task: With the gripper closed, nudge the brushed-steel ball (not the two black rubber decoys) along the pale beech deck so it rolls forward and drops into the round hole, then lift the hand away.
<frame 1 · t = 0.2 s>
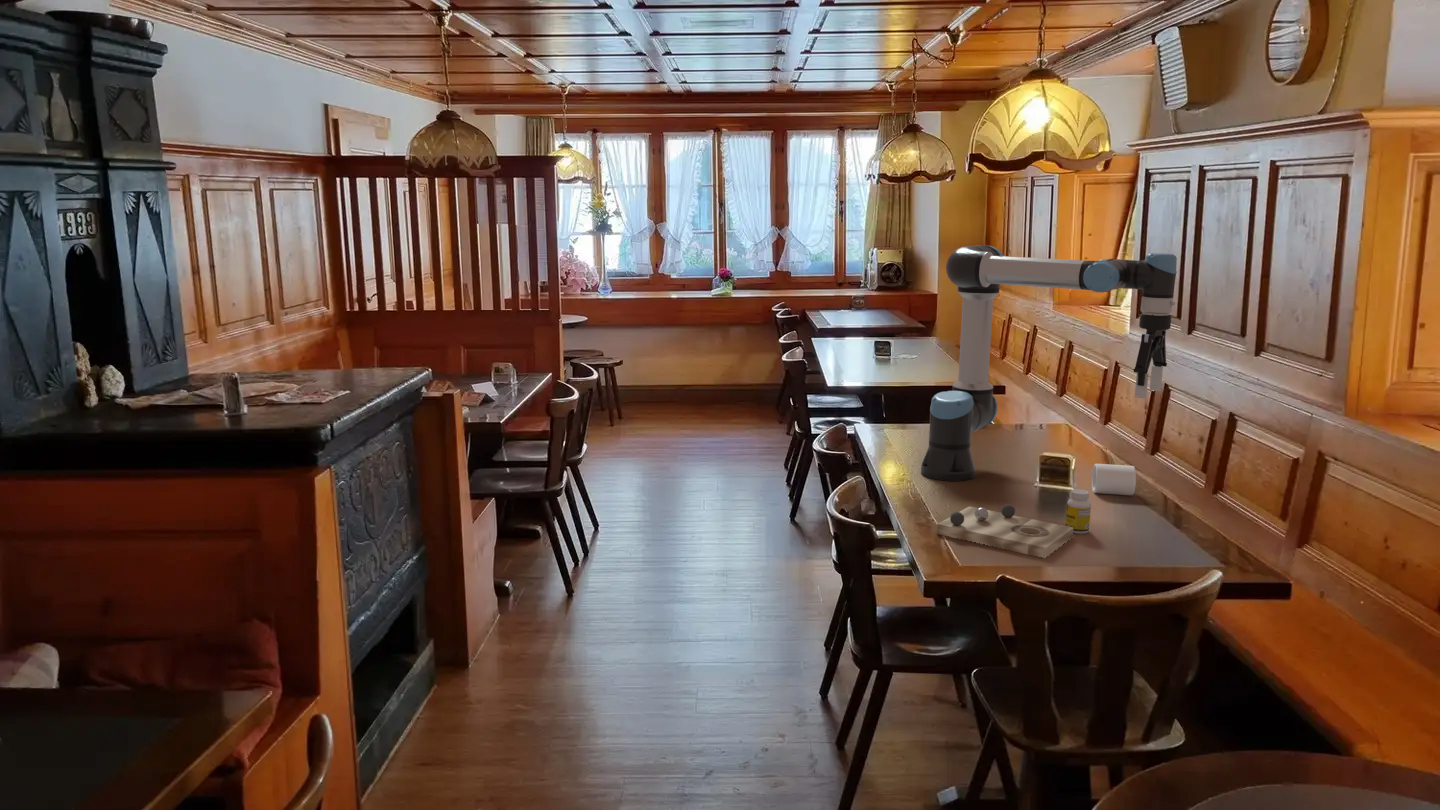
hand: (1147, 394, 266), 28 cm above the table, fingers open, 13 cm apart
supplement bottle: (1076, 531, 243), on the table
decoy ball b: (1008, 511, 243), point 4 cm above the table, touching deck
deck: (1004, 535, 238), on the table
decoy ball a: (957, 518, 237), point 4 cm above the table, touching deck
steel ball: (981, 514, 241), point 4 cm above the table, touching deck
mug: (1110, 492, 276), on the table
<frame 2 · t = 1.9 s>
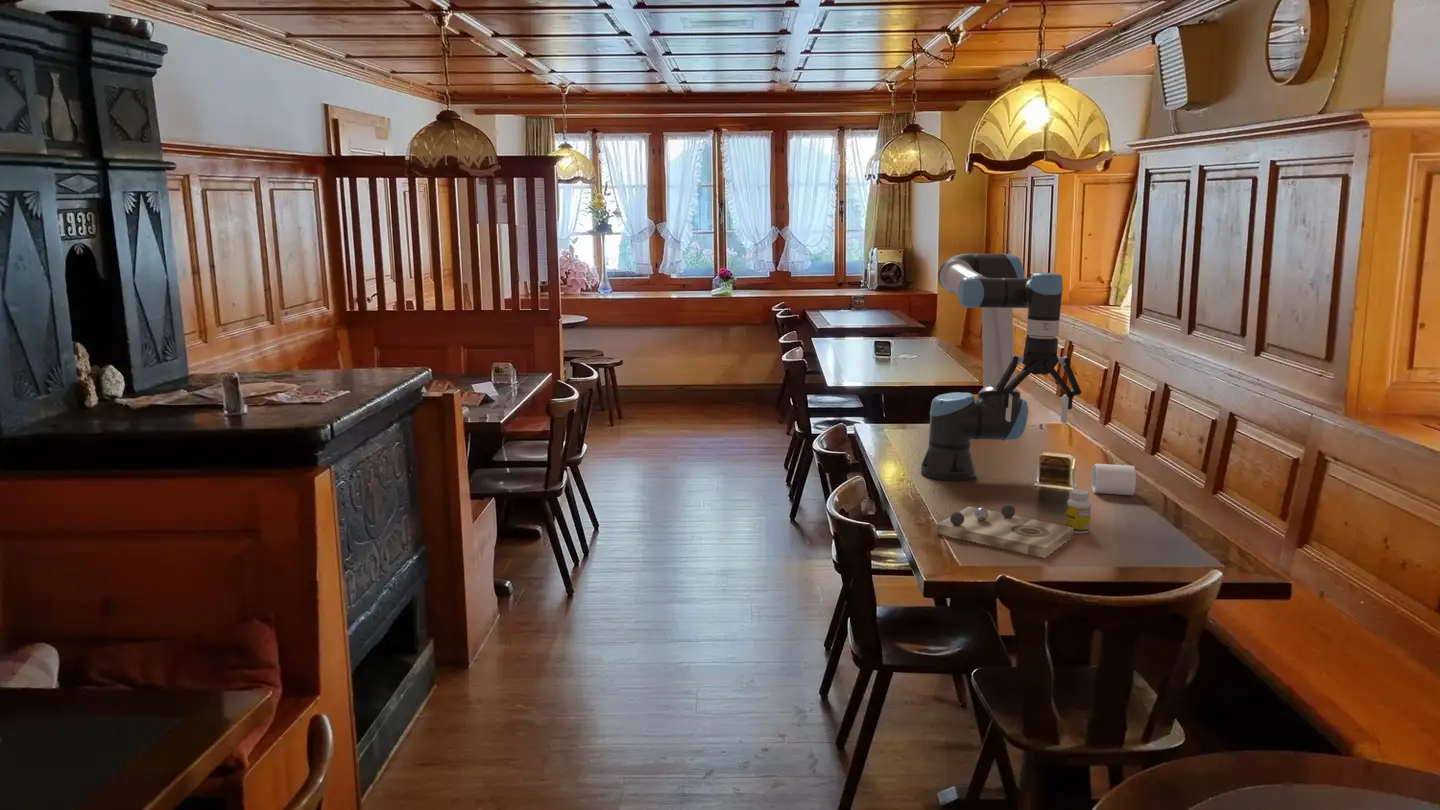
hand: (1035, 421, 252), 24 cm above the table, fingers open, 13 cm apart
nothing on the table moved.
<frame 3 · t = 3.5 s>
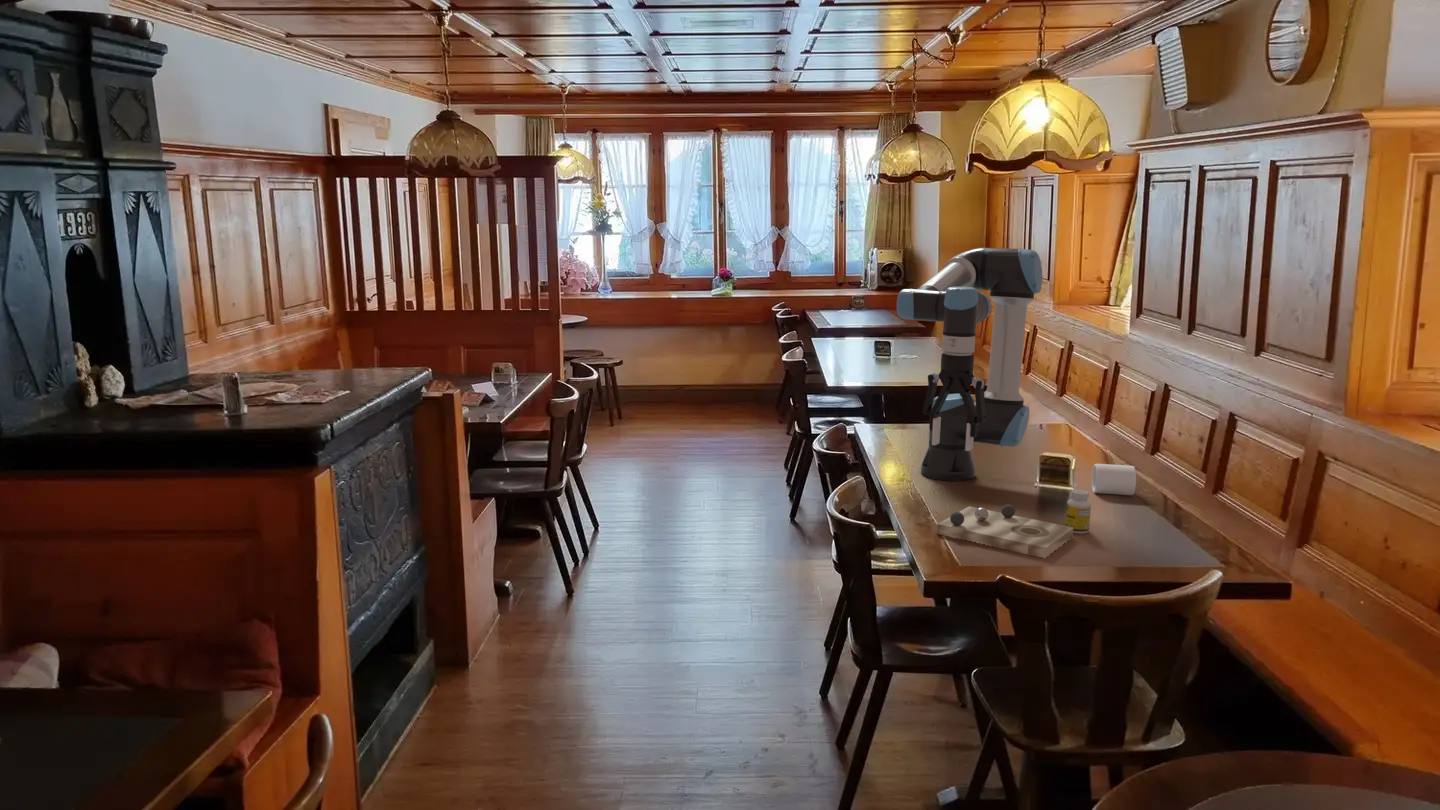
hand: (952, 446, 243), 19 cm above the table, fingers open, 8 cm apart
nothing on the table moved.
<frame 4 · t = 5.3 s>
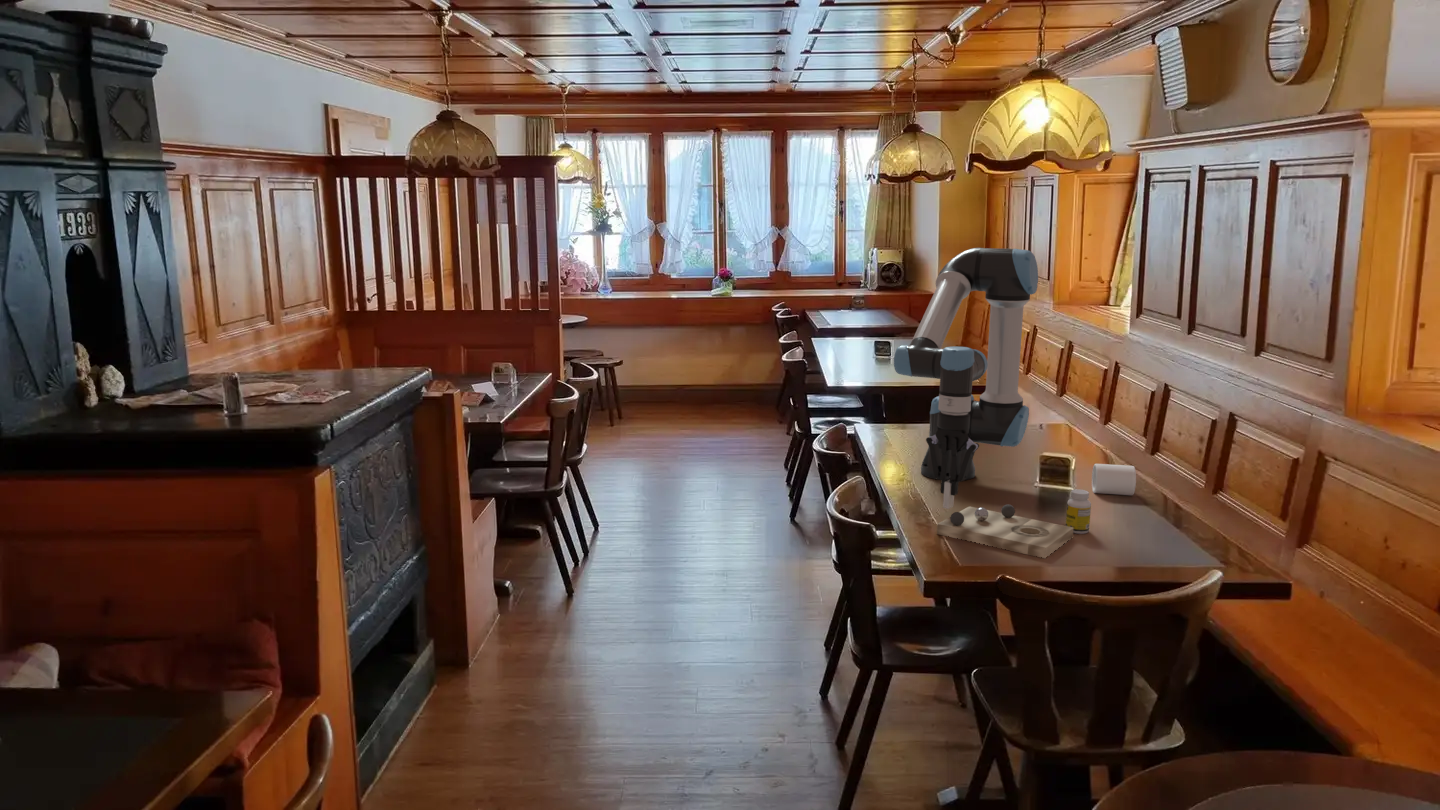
hand: (948, 507, 246), 4 cm above the table, fingers closed
nothing on the table moved.
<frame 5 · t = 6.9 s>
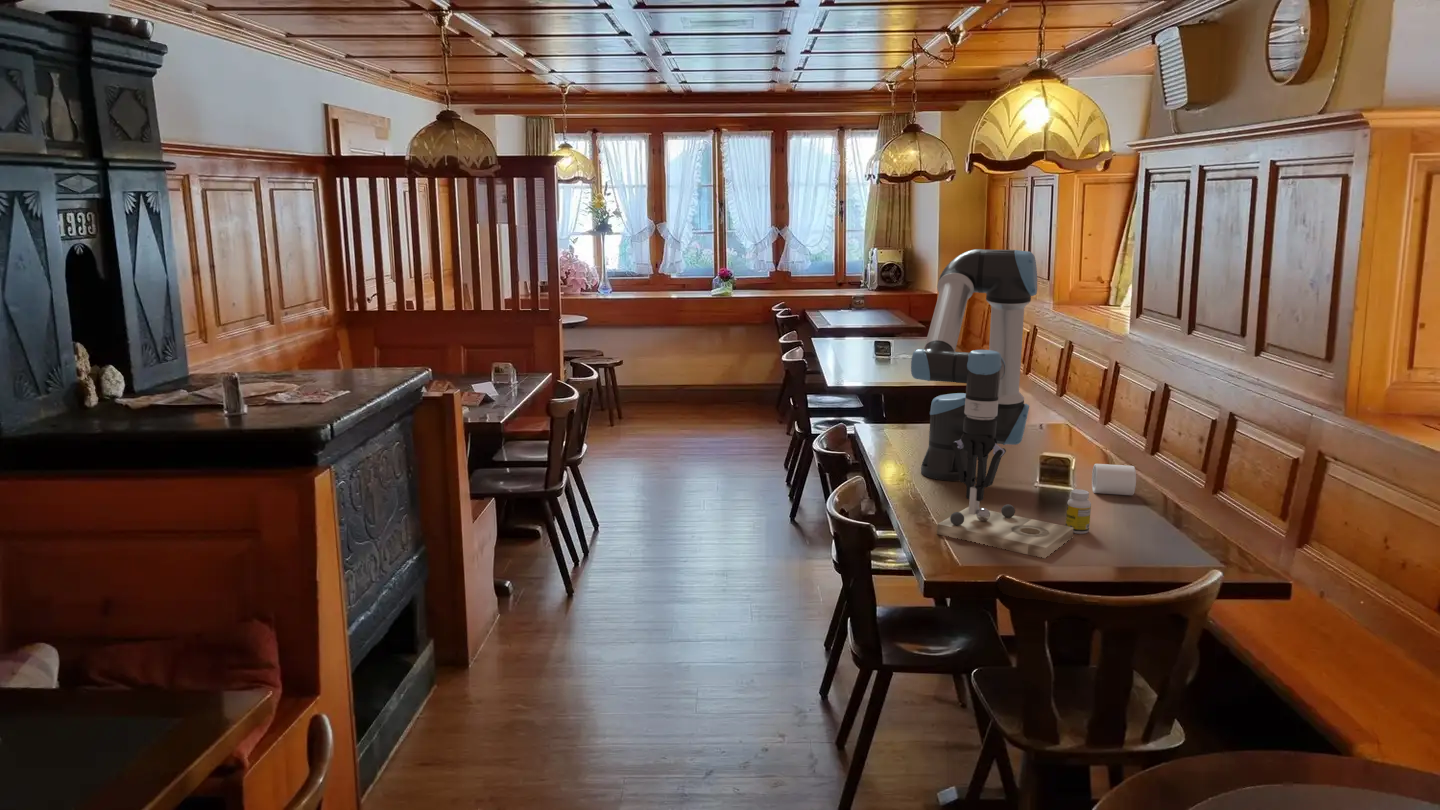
hand: (973, 512, 242), 4 cm above the table, fingers closed
steel ball: (983, 514, 241), point 4 cm above the table, tilted 15°, touching deck, gripper
everything else where it was.
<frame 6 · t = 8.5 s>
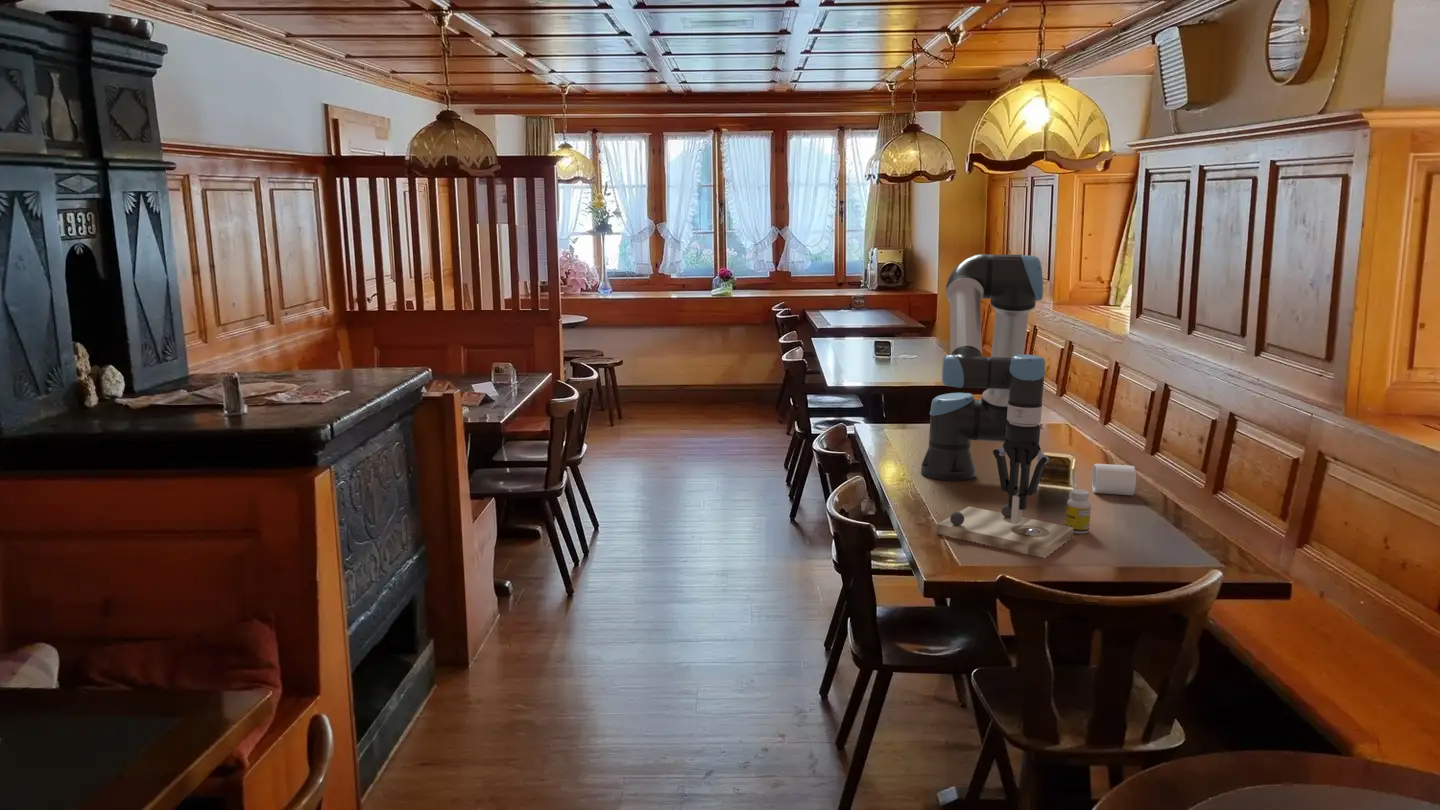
hand: (1016, 521, 236), 4 cm above the table, fingers closed
steel ball: (1032, 535, 234), point 2 cm above the table, tilted 104°
everything else where it was.
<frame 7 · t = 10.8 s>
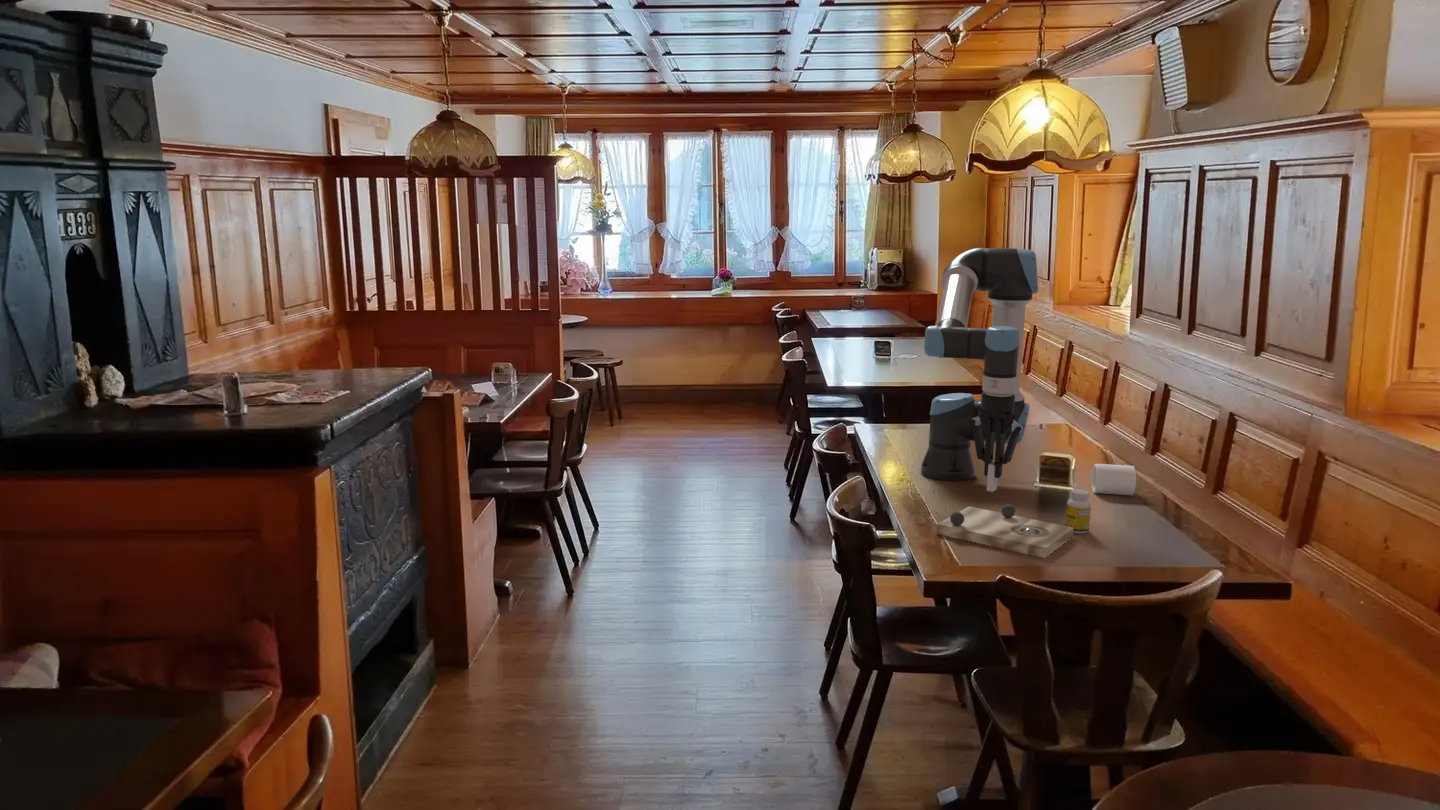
hand: (991, 489, 241), 10 cm above the table, fingers closed
steel ball: (1029, 534, 234), point 2 cm above the table, tilted 78°
everything else where it was.
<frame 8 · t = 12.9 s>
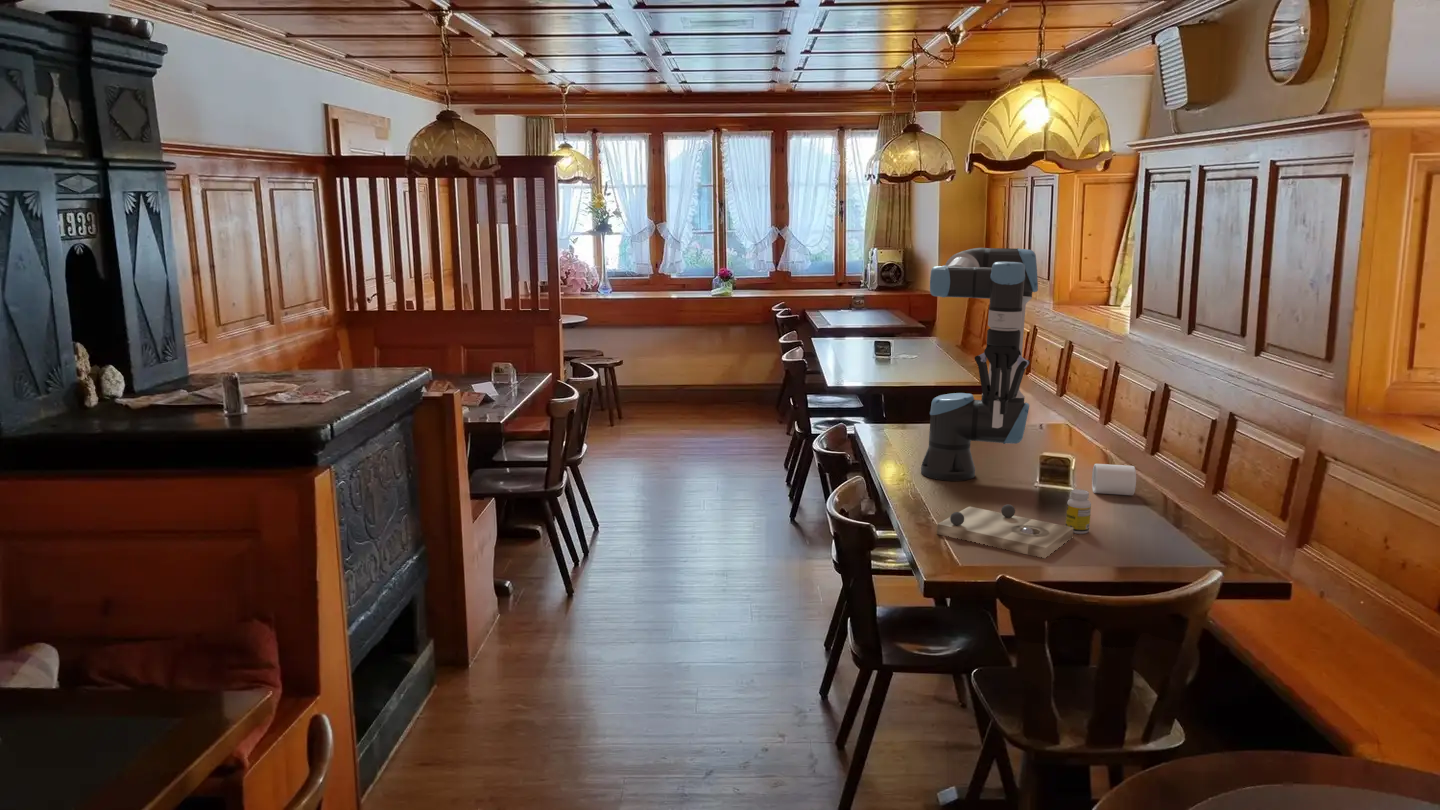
hand: (997, 426, 241), 24 cm above the table, fingers closed
steel ball: (1027, 534, 235), point 2 cm above the table, tilted 59°
everything else where it was.
at the end: steel ball 0.6 cm from the target spot in the deck, point 1.6 cm above the deck's base; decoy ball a moved 0.1 cm from its start; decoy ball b moved 0.1 cm from its start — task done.
